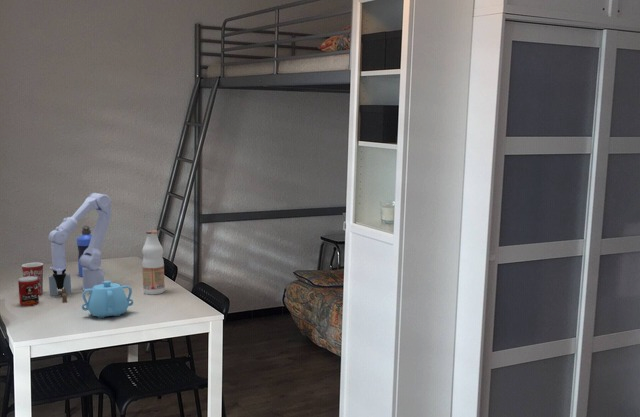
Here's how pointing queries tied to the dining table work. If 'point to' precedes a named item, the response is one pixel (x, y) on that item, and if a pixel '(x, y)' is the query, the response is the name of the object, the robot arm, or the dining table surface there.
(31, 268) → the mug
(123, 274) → the dining table surface
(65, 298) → the rail
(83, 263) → the robot arm
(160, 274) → the fruit juice
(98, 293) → the decorative pot
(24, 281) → the canned food
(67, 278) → the slim blue-grey slab
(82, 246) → the water bottle
